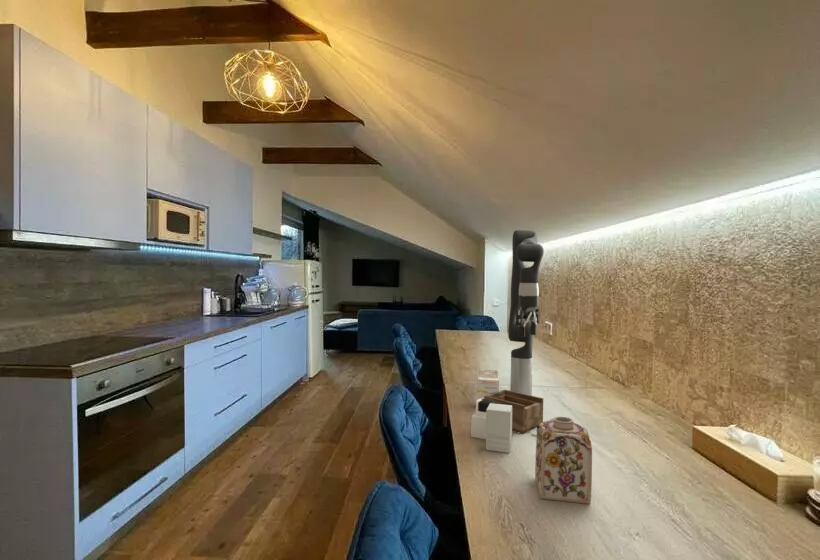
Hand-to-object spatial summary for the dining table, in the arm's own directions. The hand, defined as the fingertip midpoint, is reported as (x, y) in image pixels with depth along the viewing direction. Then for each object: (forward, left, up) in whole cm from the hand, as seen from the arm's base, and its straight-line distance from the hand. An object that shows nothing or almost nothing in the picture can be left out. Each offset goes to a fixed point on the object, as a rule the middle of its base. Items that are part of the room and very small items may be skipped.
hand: (527, 335), depth 172 cm
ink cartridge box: (+6, -14, -30) cm, 34 cm away
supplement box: (+39, +13, -30) cm, 51 cm away
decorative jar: (+51, +39, -30) cm, 71 cm away
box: (+16, +4, -30) cm, 34 cm away
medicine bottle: (+34, +4, -30) cm, 46 cm away
